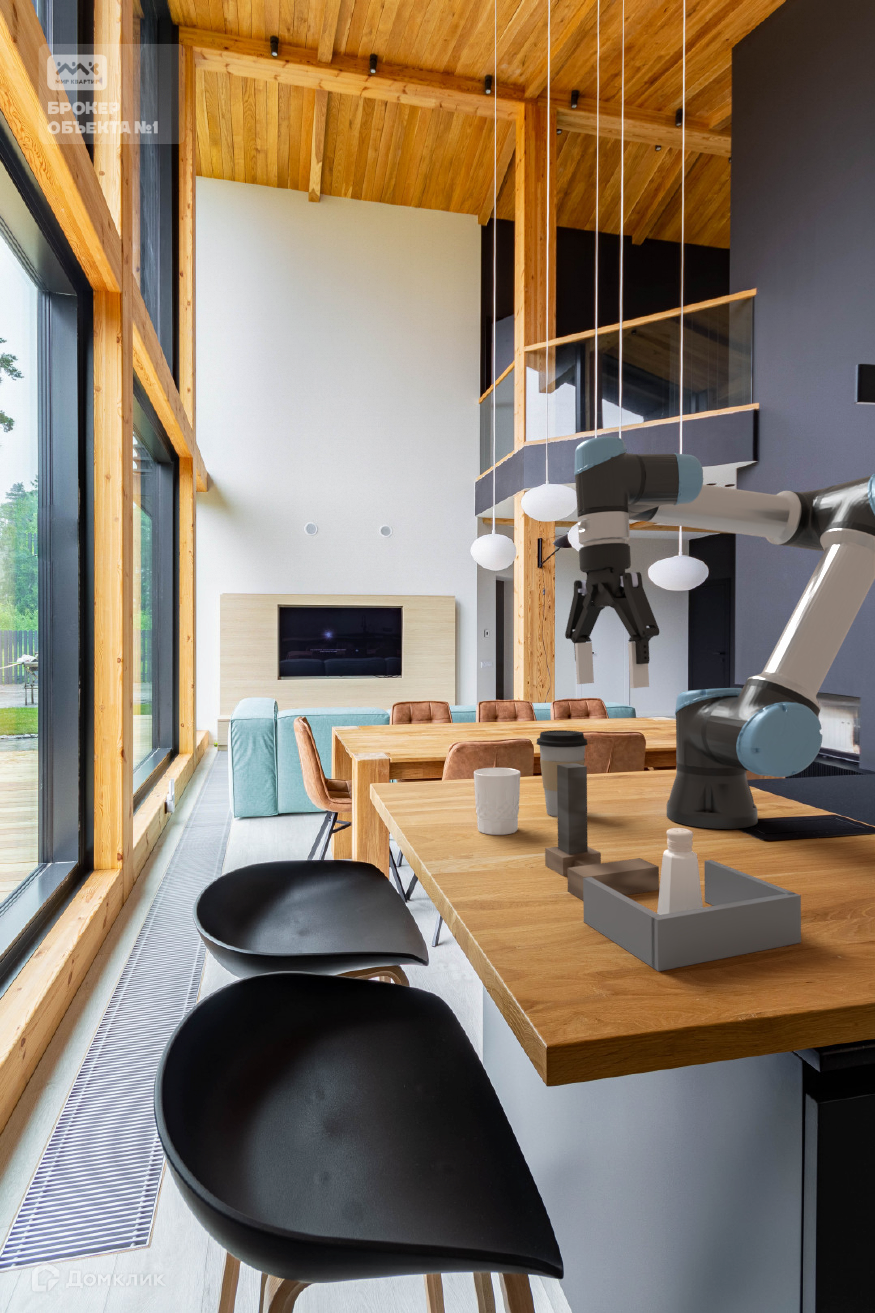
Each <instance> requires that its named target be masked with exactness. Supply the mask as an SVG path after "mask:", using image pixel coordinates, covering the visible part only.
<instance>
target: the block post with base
mask: <svg viewBox="0 0 875 1313" xmlns="http://www.w3.org/2000/svg"><path fill="white" fill-rule="evenodd" d="M557 805H558V817H557V846H553V847H545V848H544V862H545V867H547V868H549V869H550V870H552V871H553V872H555V873H558V874H559V875H560V876H563V877H566V876H567V892H568V893H570V894H571V895H573V896H574V897H576V898H578V899H580V900H582V901H583V878H587V877H592V878H594V879H595V880H597V881H599V882H601V883H603V884H605V885H606V886H608V887H610V888H612V889H614V890H615V891H617V892H619V893H621V894H623V895H625V896H627V895H634V894H635V895H636V894H642V893H646V892H647V893H648V892H654V891H659V889H660V866H659V865H656V864H654V863H652V862H649V861H647V860H646V859H643V858H640V857H638V858H631V859H624V860H623V859H622V860H616V861H608V862H602V853H601V852H600V851H598V850H595V849H594V848H592V847H589V844H588V766H586V765H584V766H583V765H580V764H576V763H572V764H560V765H557Z"/></svg>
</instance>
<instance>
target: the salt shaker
mask: <svg viewBox="0 0 875 1313" xmlns="http://www.w3.org/2000/svg"><path fill="white" fill-rule="evenodd" d="M666 836H667V837H666V838H667V839H666V843H667V849H665V850H664V851H663V854H662V860H661V869H660V870H661V871H660V878H659V890H658V900H657V901H658V902H657V912H656V913H657V914H659V915H663V914H669V913H674V912H680V911H686V910H692V909H698V908H704V905H703V896H702V887H701V886H702V885H701V878H700V870H699V860H698V854H697V852H694V851H693V844H694V843H693V842H694V841H693V837H694V832H693V831H692V830H690V829H687V828H684V827H672V828H669V829H667V830H666Z"/></svg>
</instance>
